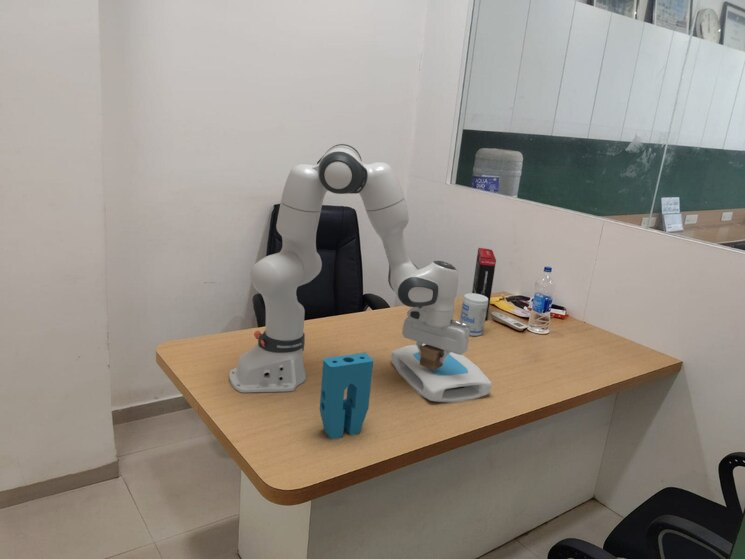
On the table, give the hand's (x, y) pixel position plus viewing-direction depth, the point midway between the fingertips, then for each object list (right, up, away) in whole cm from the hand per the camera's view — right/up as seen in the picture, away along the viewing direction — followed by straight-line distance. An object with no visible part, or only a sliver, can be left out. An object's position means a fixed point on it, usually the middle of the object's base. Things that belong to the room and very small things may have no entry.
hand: (431, 358), depth 163 cm
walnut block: (0, -2, +1) cm, 2 cm away
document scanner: (+3, -8, +9) cm, 12 cm away
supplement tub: (+21, +3, +51) cm, 55 cm away
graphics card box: (+28, +9, +73) cm, 78 cm away
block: (-26, -15, -24) cm, 38 cm away
